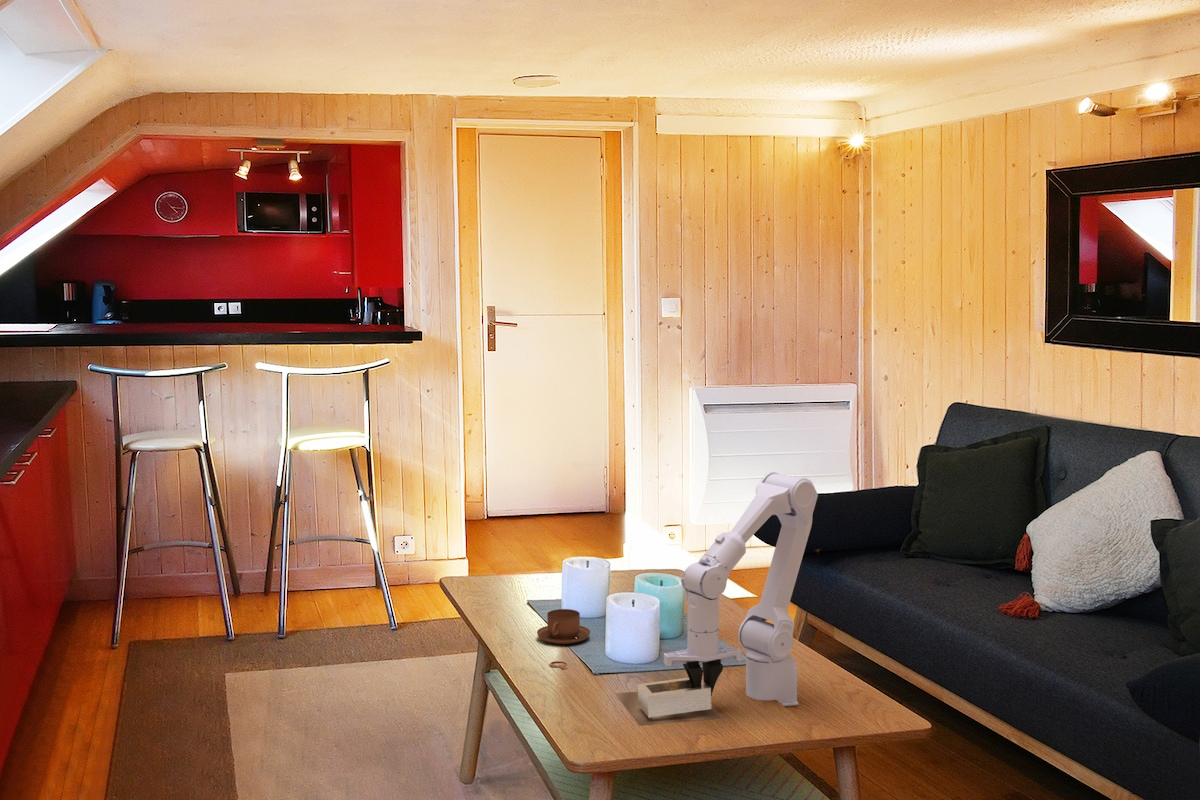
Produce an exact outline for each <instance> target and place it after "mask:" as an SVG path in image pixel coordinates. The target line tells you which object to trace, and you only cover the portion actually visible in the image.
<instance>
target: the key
mask: <svg viewBox="0 0 1200 800" xmlns="http://www.w3.org/2000/svg"><path fill="white" fill-rule="evenodd" d="M549 666H550V667H551V668H558V669H560V670H563V671H569V668H568V667H567V666H568V664H567V662H565V661H557V660H556V661H551V662H550V663H549Z"/></svg>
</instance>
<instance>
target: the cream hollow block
mask: <svg viewBox="0 0 1200 800" xmlns="http://www.w3.org/2000/svg"><path fill="white" fill-rule="evenodd" d="M672 682H677V683H678V685H679V690H672V691H670V685H671V683H672ZM637 692H638V705H639V706H640V708H641V709H642V710H643V711H644V713H645V714H646V715H647V716H648V718H650V717H657V716H664V715H672V714H679V713H686V712H693V711H700V710H707V709H711V705H712V696H711V688H710V687H709V686H708V685H707V684H706V683H705V682H704V679H702V682H701V687H695V688H692V686H691V683H690V680H689V677H682V678H677V679H676V678H675V679H674V678H673V679H668V680H667V679H666V680H659V681H653V682H651V681H650V682H644V683H637Z"/></svg>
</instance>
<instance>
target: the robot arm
mask: <svg viewBox="0 0 1200 800" xmlns="http://www.w3.org/2000/svg"><path fill="white" fill-rule="evenodd" d="M814 485H815V484H813V482H812V481H811V480H810V479H808V478H807V477H806V478H805V477H797V476H792V475H787V474H780V473H778V472H774V471H773V472H769V473H766V474H765V475H764V476H763V478H762V479H761V480H760V482H759V483H758V484H757V485H756V487H755V496H754V498H753V499H752V500H751V502H750V503H749V505H748V506H747V508H746V509H745V511H744V512H743V514H741V516H740V518H739V519H738V521H737V522H736V524H735V525H734V526H733V528H732V529H731V531H729V532H722V533H720V534H718V535H717V536H716V537H715V539H714V542H713V543H712V544H711V545H710V546H709V548H708V549H707V551H706V552H705V553H704V554H703V555H702V556H701V557H700V559H699V560H698V562H694V563H692V564H690V565H688V566H687V567H686V568H685V570H684V572H683V575H682V577H681V578H680V584H681V587H682V588H683V590H684V591H685V599H686V601H687V637H686V638H687V640H686V641H687V642H686V643H687V644H686V645H687V648H685V649H681V650H677V651H676V650H675V651H670V652H664V653H663V664H664V665H665V667H672V666H674V665H675V666H676V665H682V666H683V667H684V670H685V672H686V674H687V678H689V680H690V683H691V686H692V688H695V687H701V682H702V680H703V681H704V682H705V683H706V684H707V685H708V686H709V687H710V688H711V697H713V696H712V695H713V691H714V689H715V686H716V684H717V681H718V679H719V677H720V675H721V673H722V672H723V669H724V665H723V664H722V662H725V661H736V662H738V661H739V662H740V661H742V649H740V648H739V647H719V638H720V637H719V634H720V633H719V631H720V630H719V628H720V627H719V622H720V621H719V617H720V615H719V614H720V613H719V612H720V596H721V595H722V594H723V593H724V592H725V590H726V588H727V582H728V579H729V578H730V573H731V572H732V571H733V569H734V568H735V567H736V566H737V564H738V563H739V562H740V560H741V559H742V558H743V557H744V555H745V554H746V552H747V547H746V544H747V542H748V541H749V540H750V538H752V537H753V536H754V534H756V532H757V531H759V529H761V527H762V526H763V525H764V524H765V523H766V522H767V521H768V519H770V517H771V516H776V517H777V518H778V520H779V522H780V524H781V527H780V529H779V530H780V531H779V535H778V538H777V541H776V545H775V548H774V551H773V555H772V558H771V562H770V566H769V569H768V571H767V572H768V573H767V576H766V580H765V583H764V586H763V590H762V593H761V596H760V600H759V603H757V604H756V605H754V606H751V607H750V608H749V609H748V610H747V613H746V616H745V619H744V620H743V621H742V622H741V624H740V626H739V628H738V632H737V639H738V643H739V644H740V646H741V647H742V648H743V653H744V654H745V656H746V657H745V660H746V661H745V695H746V696H747V697H749V698H750V699H753V700H758V701H763V702H764V701H769V702H770V701H777V702H778V703H780V705H782V706H783V707H792V706H798V705H799V702H798V665H797V662H796V660H795V659H796V658H794V656H793V655H792V654H790V653H791V651H792V649H793V645H794V629H795V626H796V625H795V624H796V623H795V622H794V620H793V619H792V617H791V616H790V614H789V612H788V608H789V605H790V602H791V600H792V599H791V598H792V596H793V592H794V588H795V586H796V582H797V577H798V574H799V571H800V567H801V564H802V560H803V556H804V553H805V550H806V546H807V543H808V539H809V536H810V532H811V530H812V525H813V513H814V510H815V507H816V503H817V500H818V497H819V494H818V492H817V489H816V488H815V486H814ZM767 621H770V622H767ZM771 622H772V623H771ZM701 663H702V668H701Z"/></svg>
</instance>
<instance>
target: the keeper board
mask: <svg viewBox="0 0 1200 800" xmlns="http://www.w3.org/2000/svg"><path fill="white" fill-rule="evenodd" d="M672 690H679V685H678V683H677V682H672V683H671V685H670V691H672ZM614 694H615V696H616V697H617V698H618V700H619V701H620V702H621V703H622V705H623V706H624V708H625V709H626V711H627V712H628V713H629V714H630V715H631V716H632V718H633V719H634V721H635V722H636V723H637V725H638V726H639V727H640V726H652V725H659V724H661V725H663V724H671V723H673V724H674V723H685V722H693V721H694V722H695V721H705V720H706V721H707V720H715V719H724V717H723V715H722V714H721V713H720V712H719V711H718V710H717V709H716V708H715V707H714V706H713V705H712V704H711V709H707V710H700V711H693V712H686V713H679V714H672V715H664V716H657V717H650V718H648V716H647V715H646V714H645V713H644V711H643V710H642V709H641V708H640V706H639V705H638V691H629V692H615V693H614Z"/></svg>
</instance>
